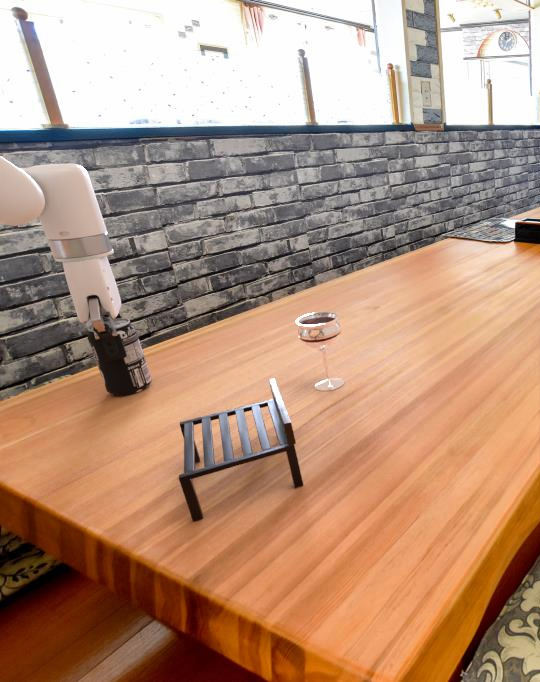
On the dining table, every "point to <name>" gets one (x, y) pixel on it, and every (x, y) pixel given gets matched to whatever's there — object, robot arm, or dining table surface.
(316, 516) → the dining table surface
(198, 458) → the rack
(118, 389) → the beverage can
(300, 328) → the wineglass
